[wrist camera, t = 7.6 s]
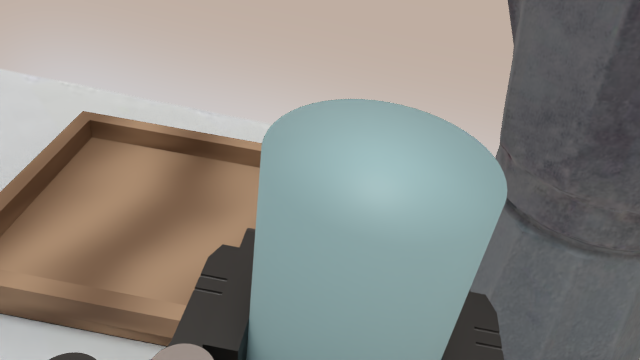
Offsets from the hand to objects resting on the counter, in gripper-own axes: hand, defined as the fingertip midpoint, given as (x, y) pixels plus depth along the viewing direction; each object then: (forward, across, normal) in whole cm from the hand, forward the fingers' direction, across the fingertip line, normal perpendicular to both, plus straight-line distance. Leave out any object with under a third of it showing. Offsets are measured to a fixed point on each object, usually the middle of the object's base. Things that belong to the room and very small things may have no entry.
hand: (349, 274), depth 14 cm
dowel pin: (-2, 0, +10) cm, 10 cm away
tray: (+11, +10, +10) cm, 18 cm away
